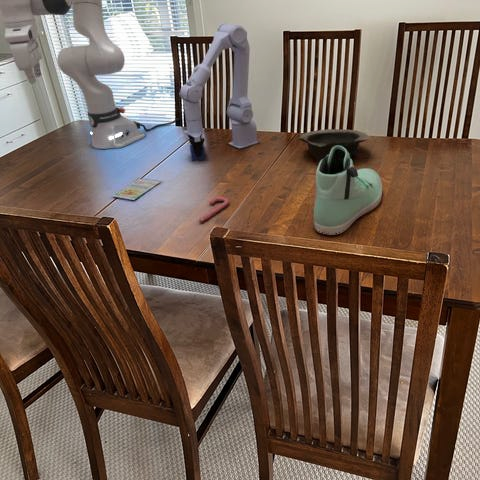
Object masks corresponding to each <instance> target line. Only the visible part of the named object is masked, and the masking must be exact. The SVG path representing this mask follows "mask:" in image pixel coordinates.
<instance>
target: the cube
mask: <svg viewBox="0 0 480 480" xmlns="http://www.w3.org/2000/svg"><path fill="white" fill-rule="evenodd" d="M205 149H206V148H205V145H204V144H203V147H202V156H201V157H196V156H195V153H194V149H193V147H192V145H191V144H189V152H190V158H191V161H192V162H195V161H196V162H197V161H203V160H206V158H207V157H206V150H205Z"/></svg>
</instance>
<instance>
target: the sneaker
mask: <svg viewBox="0 0 480 480" xmlns="http://www.w3.org/2000/svg"><path fill="white" fill-rule="evenodd" d="M317 165H318V166H317V168H316V172H315V201H314V207H313V225H314V229H315V231H316V232H318V233H320V234H323V235H326V236H327V235H328V236H336V235H339V234H342V233H344V232H345V231H347V230H348V229H349V228H350V227H351V226H352V225H353V224H354V222H356V221H357V220H358V219H359V218H360V217H362V216H363V215H365V214H367V213H370V212H372V210H374V209H375V208H377V207H378V205H380V203H381V200H382V196H383V184H382V183H383V182H382V179H381V176H380V175H379V173H378V172H377V171H376V170H374V169H372V168H367V167H365V168H358V169H357V168H355V167H354V161H353V159H352V158H351V157H350V156H349V153H348V152H347V150H346V149H345V148H344V147H342V146H334V147H333V148H332V149H331V152H330V154H329V155H327V156H326V157H325V158H324V159H322V160H321V161H320V162H318V164H317ZM343 230H344V231H343ZM319 231H320V232H319ZM322 232H323V233H322ZM339 232H340V233H339ZM326 233H327V234H326ZM328 233H329V234H328ZM335 233H337V234H335Z"/></svg>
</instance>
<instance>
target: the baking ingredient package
mask: <svg viewBox="0 0 480 480" xmlns="http://www.w3.org/2000/svg"><path fill="white" fill-rule="evenodd" d="M160 183H161V181H156V180H152V179H151V180H149V179H143V178H138V179H137V180H135V181H133V182H132V183H130V184H128V185H127V186H125V187H124V188H122V189H121V190H119V191H117V192H116V193H115V194H113V195H112V197H115V198H120V199H125V200H131V201H134V200H136V199H138V198H139V197H141V196H142V195H144V194H145V193H147V192H148V191H149V190H151V189H152V188H154V187H156V186H157V185H158V184H160Z"/></svg>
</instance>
